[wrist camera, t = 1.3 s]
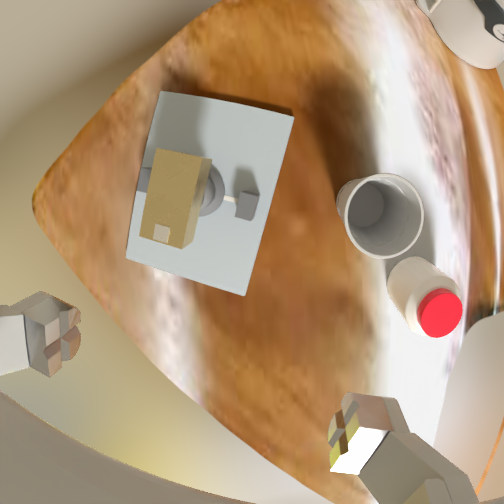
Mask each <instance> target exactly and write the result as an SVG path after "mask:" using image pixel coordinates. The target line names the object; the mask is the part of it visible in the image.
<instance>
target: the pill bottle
mask: <svg viewBox="0 0 504 504" xmlns="http://www.w3.org/2000/svg"><path fill="white" fill-rule="evenodd" d="M387 292H388V295H389V298H390V299H391V301H392V302H393V304H394V305H395V307H396V308H397V310H398V311H399V313H400V314H401V316H402V317H403V319H404V320H405V322H406V323H407V325H408V326H409V328H410V329H411V330H412V331H414V332H415V333H417V334H420V335H428V336H430V337H435V338H438V337H442V336H445V335H447V334H449V333H450V332H451V331H453V330H454V328H455V327H456V326H457V325H458V323H459V321H460V319H461V316H462V303H461V295H460V291H459V288H458V286H457V284H456V283H455V282H454V281H453V280H452V279H451V278H450V277H449V276H447V275H446V274H445V273H443V272H442V271H441V270H439V269H438V268H437V267H435V266H434V265H433V264H431V263H430V262H429V261H427V260H426V259H424V258H422V257H417V256H414V257H408V258H405V259H403V260H401V261H400V262H399V263H398V264H396V266H395V267H394V268H393V269H392V271H391V272H390V275H389V277H388V281H387Z"/></svg>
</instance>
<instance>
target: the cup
mask: <svg viewBox="0 0 504 504" xmlns="http://www.w3.org/2000/svg"><path fill="white" fill-rule="evenodd" d="M336 206H337V211H338V214H339V216H340V217H341V219H342V221H343V223H344V225H345V228H346V231H347V233H348V236H349V238H350V239H351V241H352V242H353V244H354V245H355V246H356V247H357V248H358V249H359V250H360V251H362V252H363V253H365V254H366V255H369V256H371V257H374V258H381V259H386V258H392V257H396V256H398V255H401V254H402V253H404V252H406V251H407V250H408V249H409V248H410V247H411V246H412V245H413V244H414V243H415V242H416V240H417V239H418V237H419V235H420V233H421V230H422V227H423V222H424V209H423V204H422V201H421V198H420V196H419V194H418V192H417V191H416V189H415V188H414V187H413V185H412V184H411V183H409V182H408V181H407V180H405V179H404V178H402V177H400V176H398V175H395V174H390V173H379V174H375V175H371V176H368V177H365V178H361V179H355V180H351V181H349V182H347V183H346V184H345V185H344V186H343V187H342V188H341V189H340V191H339V193H338V196H337V200H336Z"/></svg>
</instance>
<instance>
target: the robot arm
mask: <svg viewBox="0 0 504 504" xmlns="http://www.w3.org/2000/svg"><path fill="white" fill-rule="evenodd" d="M416 4H417V6H418V7H419V8H420V9H421V10H422V11H423V12H424V13H425V14H426V15H427V16H428V17H429V19H430V20H431V22H432V24H433V26H434V28H435V30H436V31H437V33H438V35H439V36H440V38H441V39H442V40H443V42H444V43H445V44H446V45H447V46H448V47H449V48H450V50H451V51H453V52H454V53H455V54H456V55H457V56H458V57H460V58H461V59H462V60H464V61H465V62H467V63H469V64H471V65H473V66H475V67H478V68H482V69H492V68H495V67H497V66H498V65H500V64H501V63H502V62H503V61H504V0H416ZM80 321H81V320H80V311H79V310H78V308H76V307H74V306H72V305H70V304H68V303H66V302H64V301H62V300H60V299H58V298H56V297H54V296H52V295H50V294H47V293H46V292H42V291H39V292H37V293H35V294H33V295H31V296H29V297H27V298H25V299H23V300H22V301H20V302H18V303H16V304H14V305H12V306H10V307H9V306H8V305H0V375H4V374H8V373H11V372H15V371H18V370H22V369H26V368H29V366H30V367H32V368H34V369H35V370H37V371H39V372H41V373H42V374H44V375H46V376H48V377H51V376H52V375H53V374H55V373H56V372H57V371H58V370H59V369H60V368H62V361H67V360H71V359H72V358H73V357H74V356H75V354H76V353H77V351H78V349H79V346H80V341H81V336H80V335H81V334H80V332H79V330H78V328H77V325H78V324H79V323H80ZM341 406H342V410H340V411H339V412H337V413H335V415H334V416H333V418H332V420H331V423H330V426H329V430H328V443H329V444H330V446H331V447H332V448H333V449H332V450H331V452H330V453H329V458H330V468H331V471H337V472H345V473H354V474H358V476H359V478H360V479H361V480H362V482H363V483H364V484H365V486H366V487H367V488H368V490H369V491H370V492H371V494H372V495H373V496H374V498H375V499H376V500H377V501H378V503H379V504H504V497H500V498H497V499H492V500H488V501H484V502H479V501H478V498H477V496H476V494H475V491H474V489H473V487H472V484H471V482H470V480H469V478H468V476H467V474H465V473H464V472H463V471H461V470H460V469H459V468H458V467H456V466H455V465H454V464H453V463H451V462H450V461H449V460H447V459H446V458H445V457H444V456H442V455H441V454H440V453H439V452H437V451H436V450H435V449H433V448H432V447H431V446H430V445H429V444H427V443H426V442H425V441H424V440H422V439H421V438H420V437H419V436H417V435H416V434H415V433H410V431H409V428H408V426H407V423H406V421H405V418H404V416H403V413H402V411H401V409H400V406H399V404H398V401H397V400H396V399H395V398H390V397H381V396H379V397H378V396H371V395H364V394H358V393H351V392H348V393H347V394H346V395H345V396H344V398H343V400H342V402H341ZM0 504H255V503H249V502H245V501H240V500H236V499H231V498H227V497H223V496H219V495H215V494H212V493H208V492H204V491H200V490H197V489H194V488H191V487H187V486H184V485H181V484H178V483H175V482H172V481H169V480H166V479H164V478H161V477H158V476H155V475H153V474H150V473H148V472H145V471H142V470H140V469H138V468H135V467H132V466H130V465H128V464H126V463H123V462H121V461H119V460H117V459H114V458H112V457H110V456H108V455H106V454H104V453H101V452H100V451H98V450H96V449H94V448H92V447H90V446H88V445H86V444H84V443H82V442H80V441H78V440H76V439H75V438H73V437H71V436H69V435H67V434H66V433H64V432H62V431H61V430H59V429H57V428H55V427H54V426H52V425H50V424H49V423H47V422H46V421H44V420H42V419H41V418H39V417H38V416H36V415H35V414H33V413H32V412H30V411H29V410H27V409H26V408H24V407H23V406H21V405H20V404H19V403H17V402H16V401H14V400H13V399H12V398H10V397H9V396H7V395H6V394H5V393H3V392H2V391H1V390H0Z"/></svg>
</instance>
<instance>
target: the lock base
mask: <svg viewBox="0 0 504 504" xmlns="http://www.w3.org/2000/svg"><path fill="white" fill-rule="evenodd" d="M293 121H294V117H292V116H288V115H285V114H281V113H277V112H273V111H269V110H264V109H260V108H256V107H251V106H247V105H242V104H237V103H232V102H227V101H222V100H217V99H211V98H206V97H200V96H194V95H187V94H181V93H174V92H166V91H160V95H159V98H158V102H157V105H156V109H155V113H154V116H153V120H152V124H151V128H150V132H149V136H148V140H147V144H146V149H145V153H144V157H143V162H142V167H141V171H140V176H139V181H138V186H137V191H136V197H135V202H134V208H133V213H132V219H131V226H130V232H129V239H128V245H127V253H126V258H127V259H130V260H133V261H136V262H139V263H142V264H145V265H148V266H151V267H154V268H157V269H160V270H163V271H166V272H169V273H172V274H175V275H178V276H181V277H184V278H187V279H191V280H194V281H197V282H200V283H203V284H206V285H210V286H213V287H216V288H219V289H223V290H226V291H229V292H232V293H236V294H239V295H242V296H245V294H246V291H247V288H248V284H249V281H250V277H251V273H252V270H253V266H254V263H255V259H256V255H257V252H258V248H259V245H260V241H261V237H262V234H263V230H264V227H265V223H266V219H267V216H268V212H269V209H270V205H271V201H272V198H273V194H274V191H275V187H276V183H277V180H278V176H279V172H280V169H281V165H282V162H283V158H284V154H285V151H286V147H287V143H288V140H289V136H290V132H291V129H292V125H293ZM156 148H161V149H169V150H174V151H179V152H183V153H188V154H192V155H197V156H201V157H206V158H210V159H212V163H211V167H210V171H209V175H208V179H207V183H206V187H205V191H204V201H203V204H202V206H201V208H200V213H199V217H198V221H197V226H196V230H195V235H194V239H193V242H192V243H190V244H189V245H187V246H186V247H185V248H183V249H179V248H175V247H172V246H169V245H166V244H162V243H159V242H156V241H153V240H149V239H146V238H143V237H140V236H139V233H140V227H141V221H142V216H143V210H144V205H145V199H146V194H147V189H148V184H149V180H150V175H151V170H152V166H153V161H154V157H155V152H156Z"/></svg>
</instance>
